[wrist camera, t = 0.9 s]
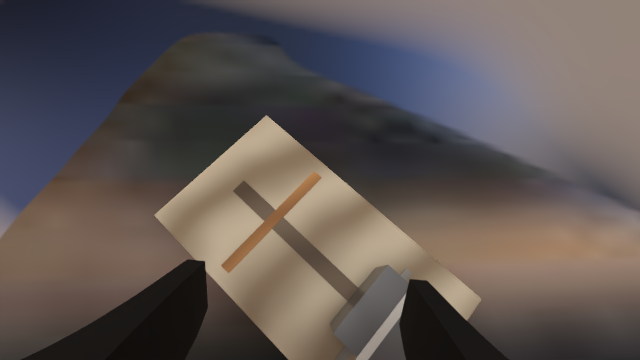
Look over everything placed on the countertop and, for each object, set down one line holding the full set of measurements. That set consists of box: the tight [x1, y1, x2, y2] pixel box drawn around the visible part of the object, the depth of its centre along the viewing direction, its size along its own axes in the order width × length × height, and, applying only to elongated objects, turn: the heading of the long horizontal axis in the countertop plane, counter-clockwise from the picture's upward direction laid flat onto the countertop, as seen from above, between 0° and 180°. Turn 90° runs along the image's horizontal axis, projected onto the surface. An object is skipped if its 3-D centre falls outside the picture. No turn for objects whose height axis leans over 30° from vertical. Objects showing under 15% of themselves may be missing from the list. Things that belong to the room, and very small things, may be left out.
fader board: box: [155, 115, 481, 360], centre depth 23 cm, size 22×12×2 cm, turn 47°
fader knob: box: [330, 265, 409, 360], centre depth 19 cm, size 4×5×4 cm
